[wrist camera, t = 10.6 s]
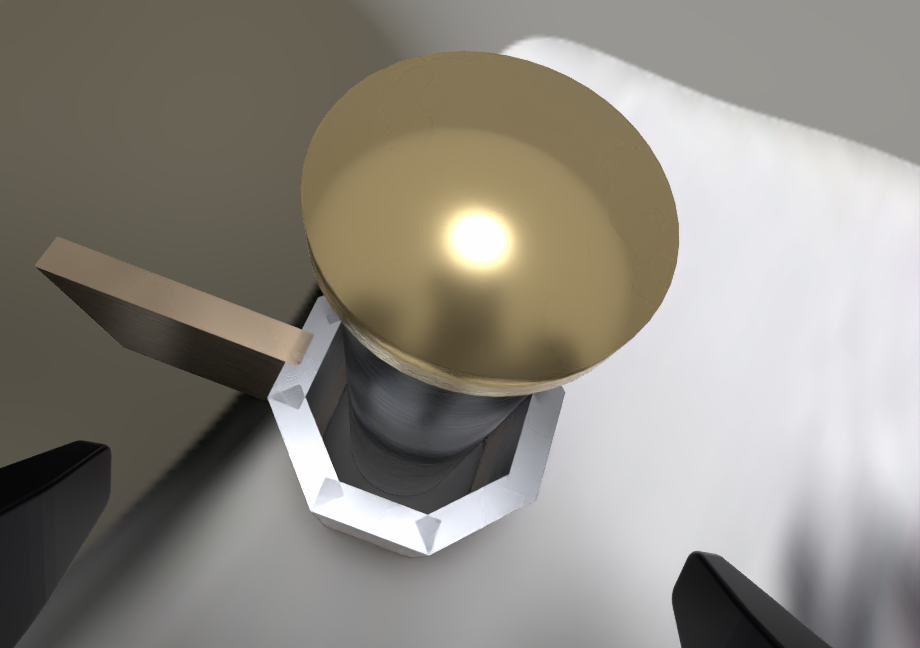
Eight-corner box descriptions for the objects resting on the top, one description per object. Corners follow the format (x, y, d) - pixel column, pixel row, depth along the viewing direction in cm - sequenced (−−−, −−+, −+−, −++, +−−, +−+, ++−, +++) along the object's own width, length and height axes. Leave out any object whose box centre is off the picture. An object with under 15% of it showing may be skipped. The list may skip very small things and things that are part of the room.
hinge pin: (472, 503, 16) (717, 377, 5) (339, 509, 16) (289, 379, 5) (464, 378, 18) (642, 67, 7) (342, 379, 17) (310, 36, 6)
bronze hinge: (468, 579, 16) (512, 586, 11) (69, 430, 16) (-51, 375, 11) (569, 244, 21) (629, 154, 16) (266, 127, 20) (240, 2, 16)
